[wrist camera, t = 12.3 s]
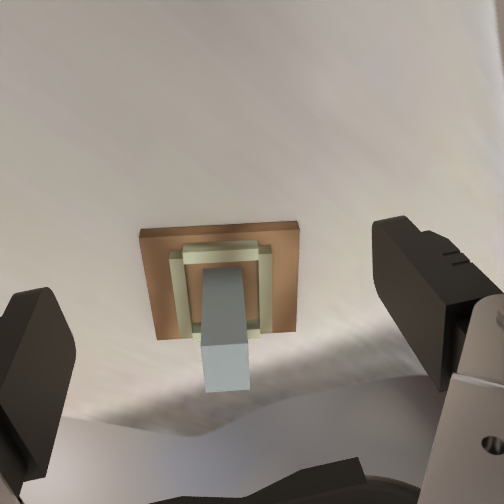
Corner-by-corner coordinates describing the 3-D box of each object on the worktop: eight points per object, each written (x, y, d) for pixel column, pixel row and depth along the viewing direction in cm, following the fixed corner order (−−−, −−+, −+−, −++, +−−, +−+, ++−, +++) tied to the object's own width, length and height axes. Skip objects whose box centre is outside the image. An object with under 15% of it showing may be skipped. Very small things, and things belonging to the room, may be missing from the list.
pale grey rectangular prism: (207, 310, 46) (205, 392, 38) (203, 268, 44) (200, 346, 35) (243, 308, 46) (249, 389, 38) (241, 266, 44) (248, 343, 35)
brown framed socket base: (158, 330, 49) (155, 350, 47) (141, 229, 43) (136, 247, 40) (293, 321, 50) (298, 341, 47) (297, 221, 43) (302, 238, 41)
